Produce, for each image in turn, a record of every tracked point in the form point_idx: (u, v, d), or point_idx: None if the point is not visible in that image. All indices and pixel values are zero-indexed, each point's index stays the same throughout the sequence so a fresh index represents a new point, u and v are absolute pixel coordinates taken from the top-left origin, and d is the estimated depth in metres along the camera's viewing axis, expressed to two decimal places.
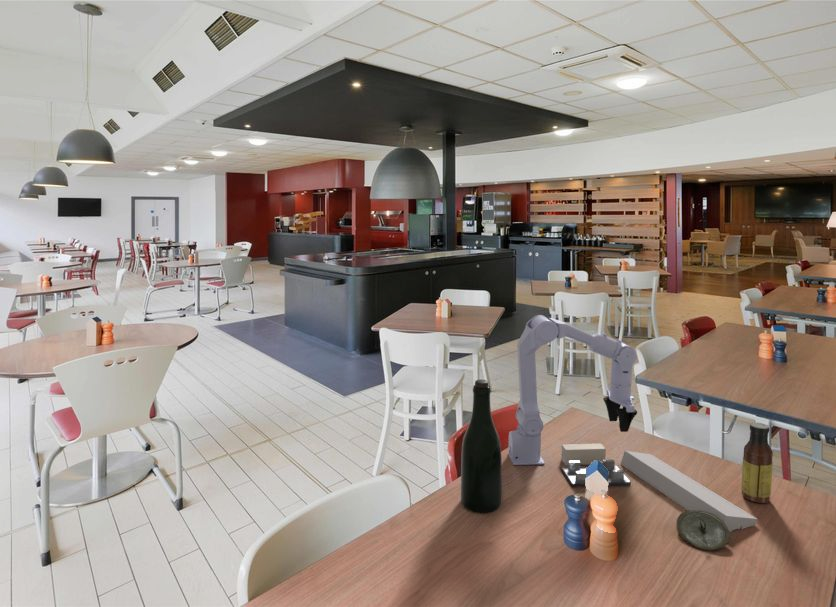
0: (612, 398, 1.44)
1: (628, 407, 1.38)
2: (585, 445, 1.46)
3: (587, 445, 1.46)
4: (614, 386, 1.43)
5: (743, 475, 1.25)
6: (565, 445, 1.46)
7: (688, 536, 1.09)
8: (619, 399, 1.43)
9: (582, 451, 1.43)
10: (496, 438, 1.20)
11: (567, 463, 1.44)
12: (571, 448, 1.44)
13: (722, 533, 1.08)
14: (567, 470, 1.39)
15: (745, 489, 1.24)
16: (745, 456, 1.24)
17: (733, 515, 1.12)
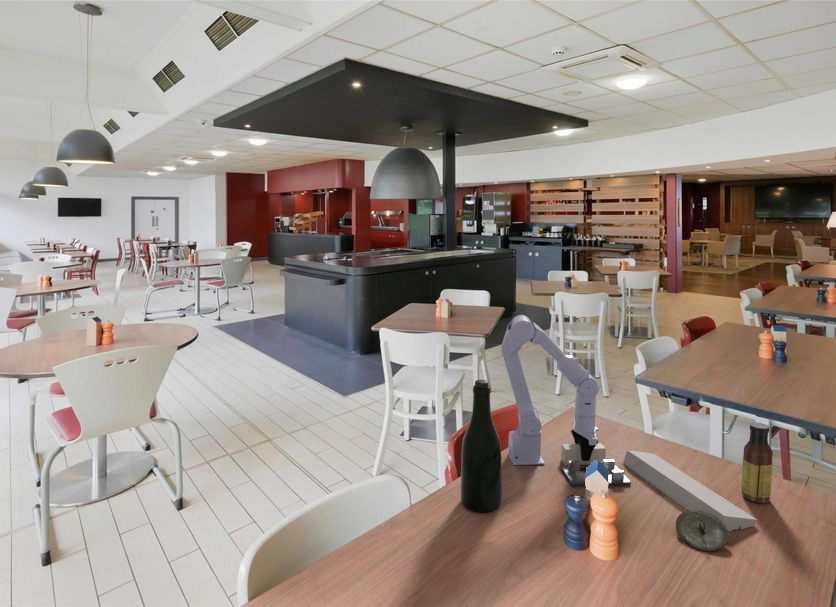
0: (576, 429, 1.43)
1: (591, 440, 1.37)
2: None
3: None
4: (578, 418, 1.42)
5: (743, 475, 1.25)
6: (565, 445, 1.46)
7: (687, 537, 1.09)
8: (583, 431, 1.41)
9: None
10: (496, 438, 1.20)
11: (567, 463, 1.44)
12: (571, 448, 1.44)
13: (721, 533, 1.07)
14: (567, 470, 1.39)
15: (745, 489, 1.24)
16: (745, 456, 1.24)
17: (731, 515, 1.12)
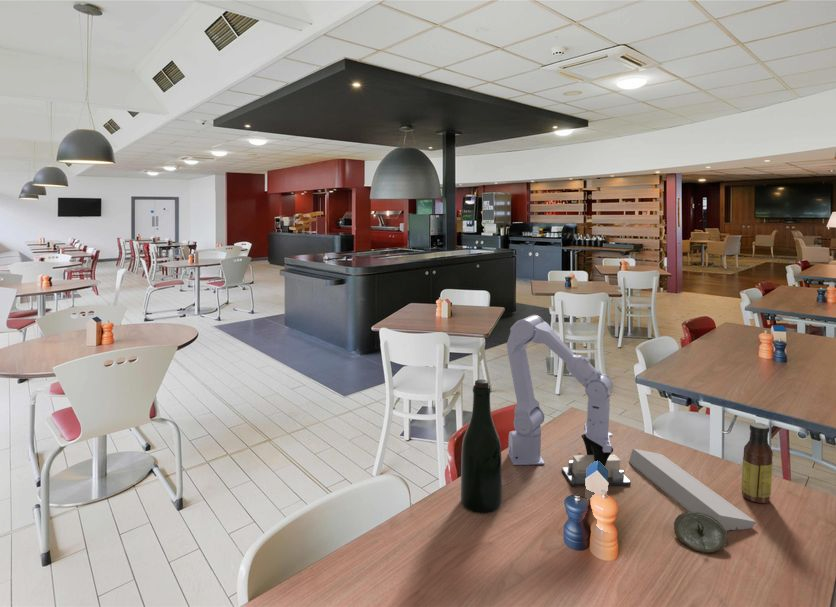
0: (588, 435, 1.33)
1: (605, 447, 1.27)
2: None
3: None
4: (590, 423, 1.32)
5: (743, 475, 1.25)
6: (576, 456, 1.36)
7: (686, 538, 1.08)
8: (596, 437, 1.32)
9: None
10: (496, 438, 1.20)
11: None
12: (583, 460, 1.34)
13: (720, 535, 1.07)
14: (567, 470, 1.39)
15: (745, 489, 1.24)
16: (745, 456, 1.24)
17: (727, 515, 1.12)
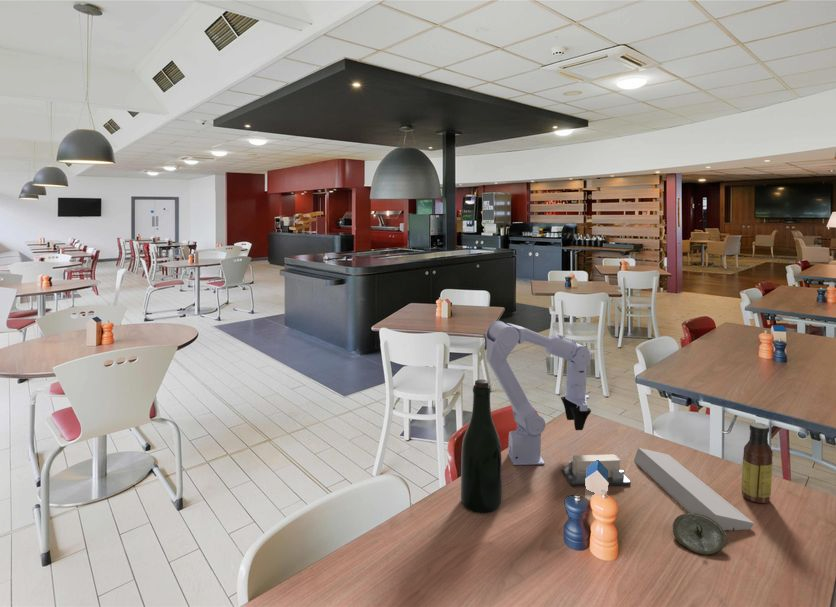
0: (567, 397, 1.47)
1: (581, 406, 1.41)
2: (598, 456, 1.36)
3: (600, 456, 1.36)
4: (569, 385, 1.46)
5: (743, 475, 1.25)
6: (576, 456, 1.36)
7: (685, 540, 1.08)
8: (574, 398, 1.46)
9: None
10: (496, 438, 1.20)
11: None
12: (583, 460, 1.34)
13: (719, 536, 1.06)
14: (567, 470, 1.39)
15: (745, 489, 1.24)
16: (745, 456, 1.24)
17: (724, 515, 1.12)
